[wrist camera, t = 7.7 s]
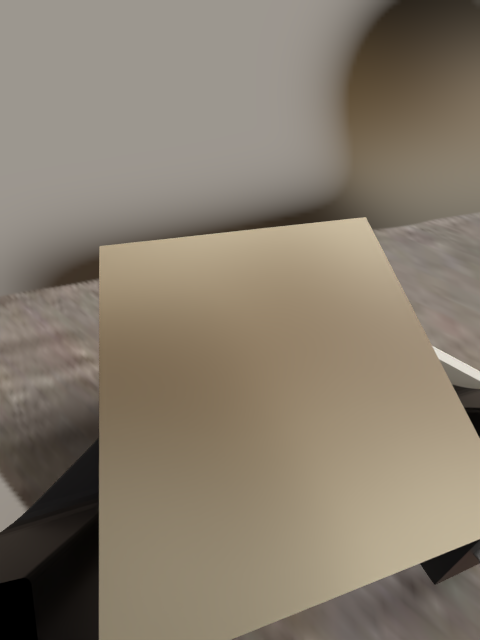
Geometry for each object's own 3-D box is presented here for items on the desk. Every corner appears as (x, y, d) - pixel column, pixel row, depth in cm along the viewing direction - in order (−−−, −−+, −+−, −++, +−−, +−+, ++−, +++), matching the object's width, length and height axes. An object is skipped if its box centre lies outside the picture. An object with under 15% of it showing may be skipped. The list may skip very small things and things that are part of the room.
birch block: (275, 418, 15) (522, 522, 3) (204, 436, 14) (98, 693, 2) (258, 349, 16) (365, 216, 4) (194, 362, 16) (99, 245, 3)
